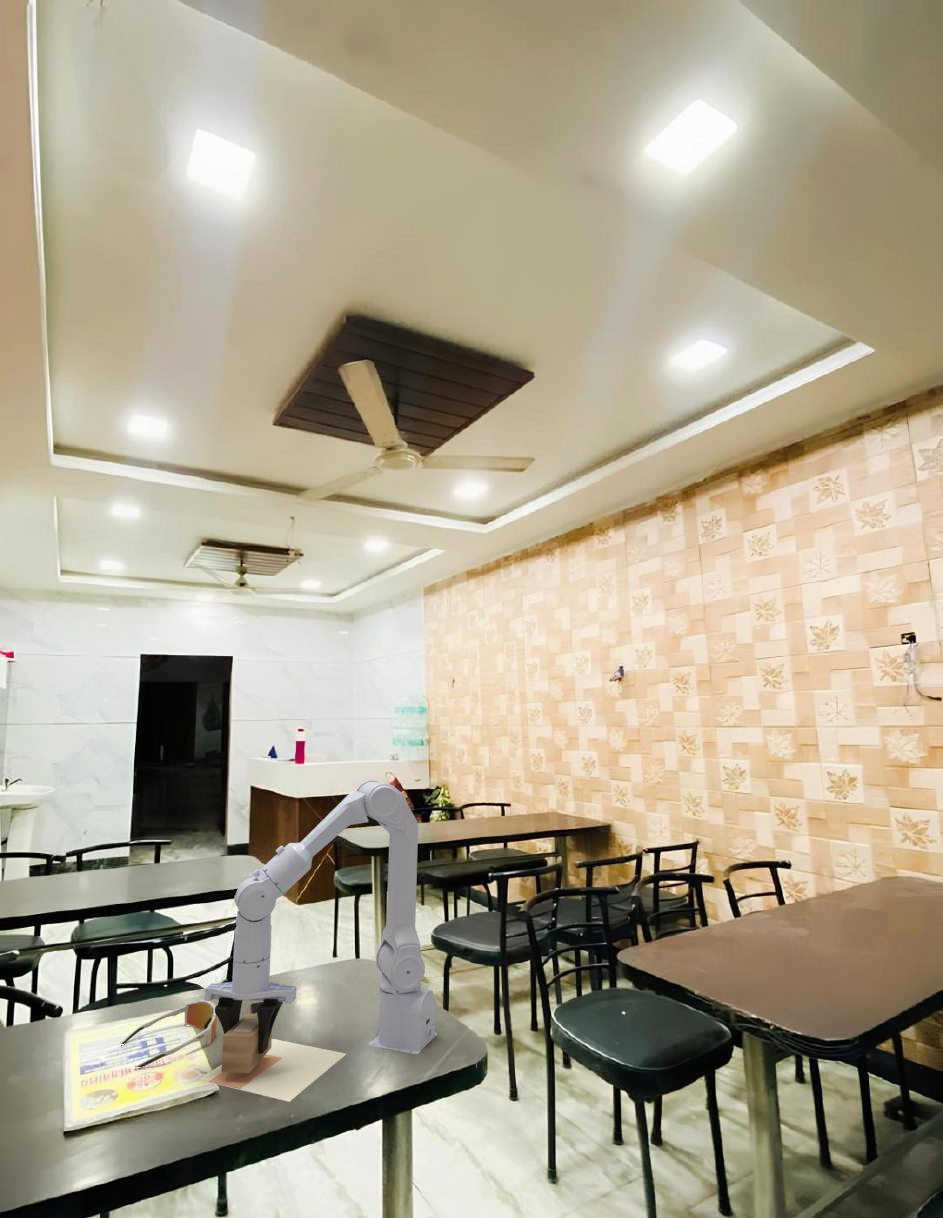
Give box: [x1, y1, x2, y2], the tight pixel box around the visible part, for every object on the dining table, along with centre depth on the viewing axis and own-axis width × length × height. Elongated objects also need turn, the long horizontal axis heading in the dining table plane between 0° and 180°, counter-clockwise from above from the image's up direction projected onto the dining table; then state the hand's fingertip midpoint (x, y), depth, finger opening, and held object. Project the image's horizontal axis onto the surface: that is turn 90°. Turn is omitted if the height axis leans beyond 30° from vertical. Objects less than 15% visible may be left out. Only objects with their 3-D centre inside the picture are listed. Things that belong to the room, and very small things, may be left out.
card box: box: [221, 1013, 273, 1073], centre depth 103 cm, size 8×4×5 cm, turn 174°
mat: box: [197, 1038, 347, 1103], centre depth 103 cm, size 17×15×1 cm
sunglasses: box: [120, 999, 218, 1068], centre depth 113 cm, size 14×15×5 cm
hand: (247, 1050), depth 103 cm, fingers closed on card box, 4 cm apart
